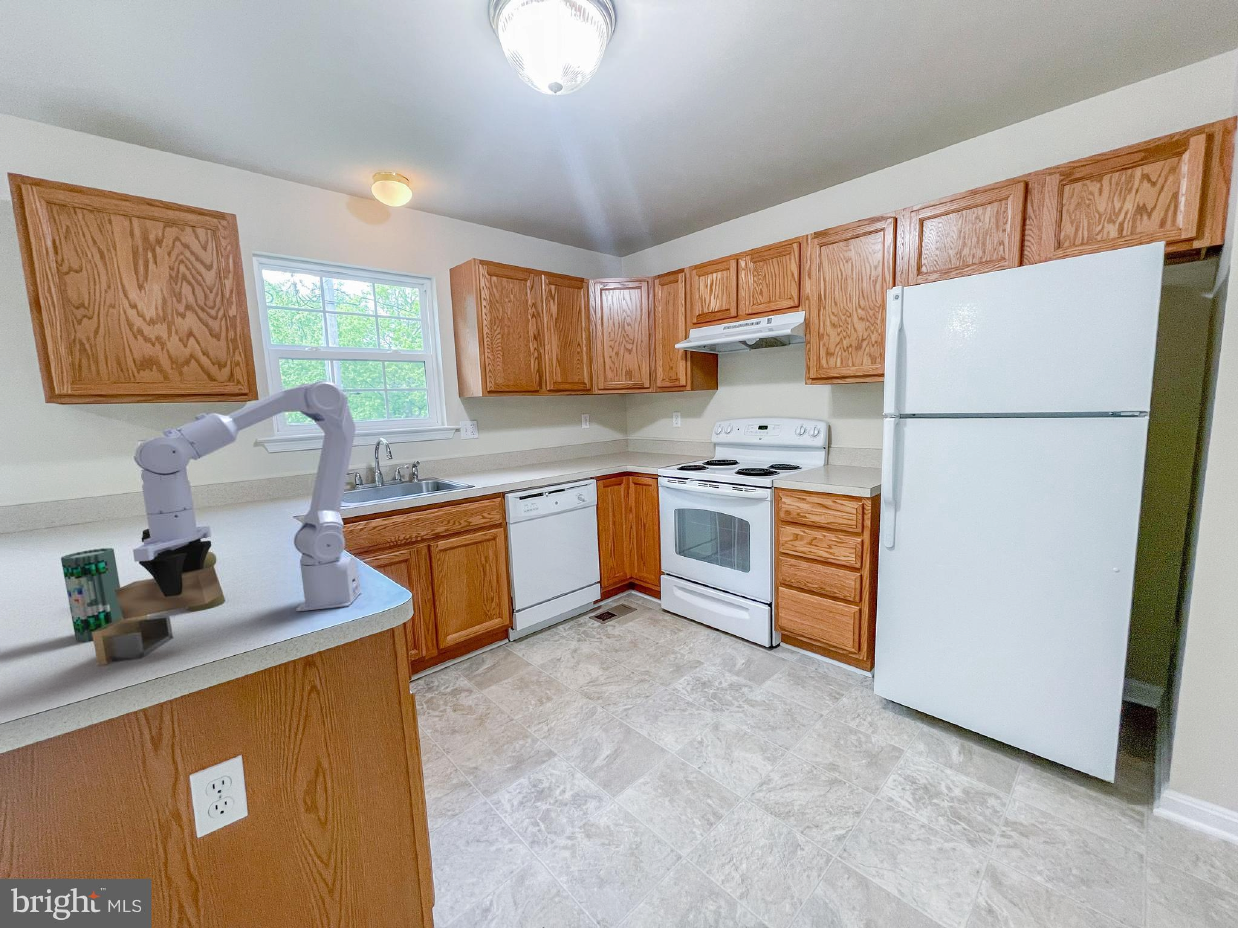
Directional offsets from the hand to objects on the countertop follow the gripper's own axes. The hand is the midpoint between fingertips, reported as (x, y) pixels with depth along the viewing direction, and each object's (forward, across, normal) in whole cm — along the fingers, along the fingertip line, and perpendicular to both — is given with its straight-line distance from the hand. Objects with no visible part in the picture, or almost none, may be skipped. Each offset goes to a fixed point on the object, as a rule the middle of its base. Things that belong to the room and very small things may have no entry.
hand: (182, 590), depth 81 cm
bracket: (+9, 0, -8) cm, 12 cm away
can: (+10, -10, -20) cm, 24 cm away
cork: (+10, -20, -9) cm, 24 cm away
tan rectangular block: (+3, 0, -2) cm, 3 cm away
